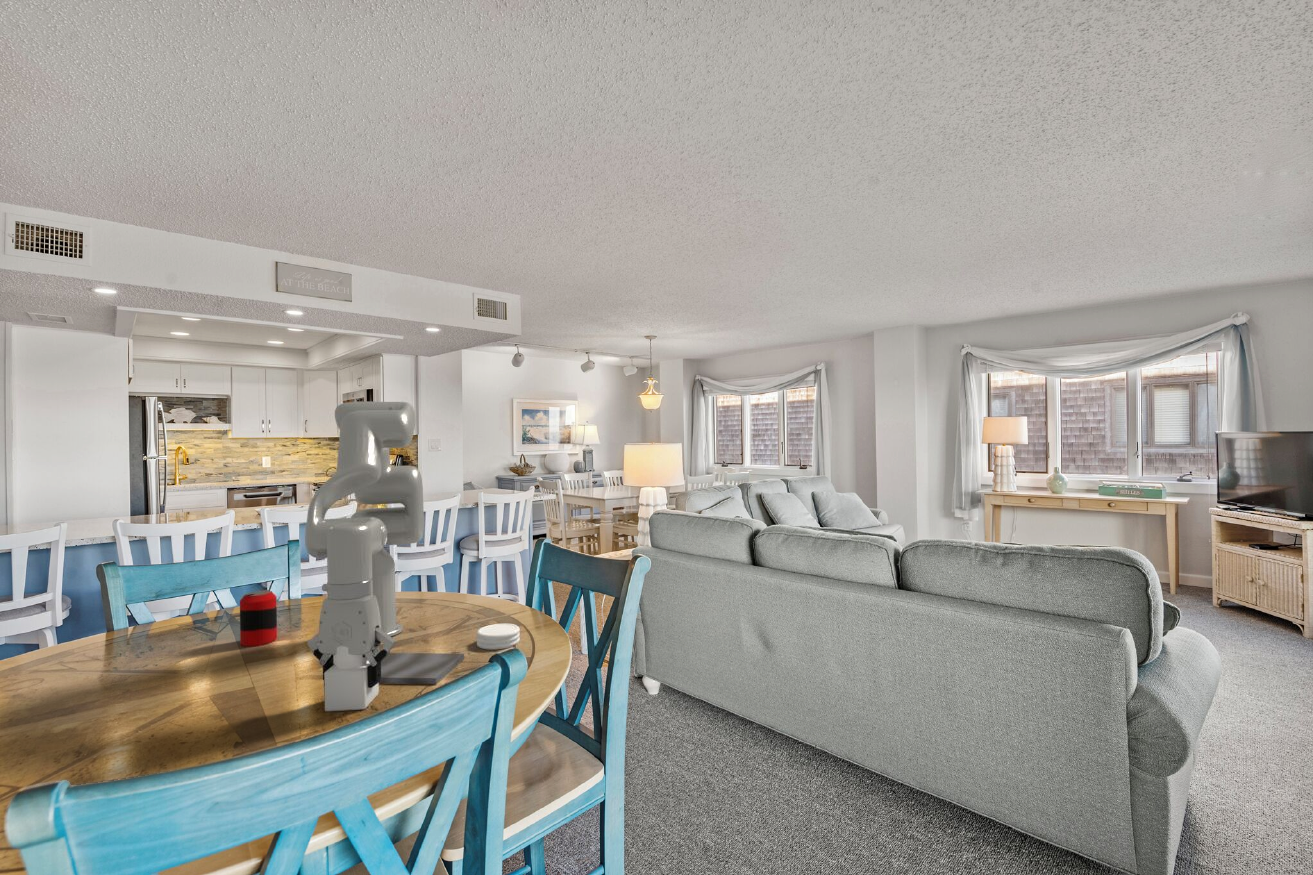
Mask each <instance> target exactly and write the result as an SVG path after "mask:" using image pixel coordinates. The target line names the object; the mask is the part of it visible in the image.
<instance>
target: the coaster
mask: <svg viewBox="0 0 1313 875" xmlns="http://www.w3.org/2000/svg"><path fill="white" fill-rule="evenodd" d="M520 631H521V630H520V626H518V625H517V624H514V623H495V624H490V625H489V624H488V625H485V626H483V627H480V628H479V629H478V630H477V631H476V646H477V647H478V648H480V649H483V650H490V651H495V650H497V651H499V650H504V649H509V648H512V647H514V646H516V645H518V644H517V643H520V640H521V637H520V635H521V633H520ZM513 645H514V646H513Z"/></svg>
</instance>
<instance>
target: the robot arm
mask: <svg viewBox="0 0 1313 875" xmlns="http://www.w3.org/2000/svg"><path fill="white" fill-rule="evenodd" d="M334 419H335V423H336V425H337V428H338V430H339V438H338V449H337V450H338V451H337V462H336V471H335V473H334V474H333V475H332V476H330V477H329V478H328V479H327V480H326V481H325V482H324V483H323V484H322V485H321V486H320V487H319V488H318V490H317V491H316V492H315V494H314V495H313V497H312V498H311V500H310V502H309V506H308V509H307V516H306V517H307V518H306V523H305V533H304V545H305V548H306V552H307V553H308V555H309V556H311V557H312V558H316V559H326V568H327V570H326V573H327V575H326V576H327V582H326V583H323V584H322V585H321V590H322V591H323V592H326V598H324V599H323V601H322V604H321V610H320V614H319V623H318V633H317V634H315V636H313V637H311V639H309V640H307V643H306V644H307V646H308V647H309V648H310V650H311V651H312V654H313V656H314V657H315V658H316V659H317V660H318V661H319V662H318V663H319V665H320V666H322V680H323V681H324V673H325V672H326V671H327V670H328V669H330V668H331V667H332V666H333V665H334V661H333V655H335V654H337V647H340V646H345V647H348V654H351V655H365V656H366V658H367V660H368V661H369V663H370V665H369V666H368V667H367V671H368V688H372V687H373V686H375V685H376V684H378V683H379V682H380V679H381V661H382V660H383V659H384V658H385V657H386V656H387V655H388V654H389V653H391V650H392V649H393V648H394V646H395V645H396V644H397V643H396V639H394V638H393V637H394V636H397V635H399V634H400V633H401V632H402V631H403V630H404V629H403V628H404V627H403V624H402V623H401V622H397V615H396V614H397V612H396V611H397V607H396V606H397V604H396V603H397V602H396V599H397V598H396V562H395V560H394V558H393V556H392V555H391V554H390V552H388V551H387V550H386V549H385V548H384V547H386V546H395V545H397V546H399V545H410V544H417V543H418V542H420V541H421V540H422V538H423V537H424V532H425V515H424V514H425V513H424V512H425V510H424V488H423V478H422V473H421V472H420V470H419V469H418V468H417V467H415V466H413V465H391V460H390V459H391V457H390V449H395V448H400V449H401V448H407V447H408V446H410V444H411V443H412V441H413V437H414V432H415V427H416V412H415V409H414V407H413V406H412V404H410V403H409V402H406V401H349V402H344V403H341V404H340V403H339V405H337V406H336V408H335V410H334ZM351 495H354V498H355V500H356V501H357V502H358V503H360V504H362V505H390V504H391V505H392V504H393V505H394V504H397V505H398V504H401V505H403V506H401V507H400V506H399V507H398V506H397V507H376V508H375V507H373V508H372V507H371V508H366V509H361V510H358V511H355V512H354V513H353V514H352V515H351V516H350V517H342V518H340V517H339V518H327V519H326V518H325V517H326V514H327V512H328V510H329V509H330V508H331V507H332V506H333V505H334V504H336V503H337V502H338V501H341V500H342V499H344V498H346V497H348V496H351ZM381 644H383V647H382V648H381V649H380V648H379V647H380V646H381ZM379 684H380V683H379Z"/></svg>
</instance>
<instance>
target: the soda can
mask: <svg viewBox="0 0 1313 875" xmlns="http://www.w3.org/2000/svg"><path fill="white" fill-rule="evenodd" d="M277 608H278V607H277V595H276V594H275V593H273V591H272V590H269V589H268V590H267V589H265V590H264V589H263V590H254V591H250V592H249V591H248V592H246V593H245V594H244V595H243V596H242V598H241V599H240V600H239V632H240V634H239V636H240V637H239V640H240V645H243V646H242V647H245V646H246V648H254V647H261V646H264V645H268V644H272V643H273V642H275V641H276V640H277V639H278V619H277V618H278V617H277V616H278V613H277V612H278V611H277V610H278V609H277ZM260 645H261V646H260Z"/></svg>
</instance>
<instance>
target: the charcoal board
mask: <svg viewBox="0 0 1313 875" xmlns="http://www.w3.org/2000/svg"><path fill="white" fill-rule="evenodd" d="M464 659H465V653H448V652H446V653H444V652H442V653H441V652H440V653H438V652H437V653H435V652H433V653H430V652H425V653H424V652H389V654H388V655H387V656H386V657H385V658H384V659H383V660H382V661H381V679H380V682H379V684H383V685H384V684H388V685H389V684H391V685H392V684H394V685H395V684H396V685H437V684H438V683H440V682H441V680H442V679H444V678H445V677H446V676H448V674H449V673H451V672H452V671H453V670H454V669H455V668H456V667H457V666H458V665H459V664H460V663H462V662H463V661H464Z"/></svg>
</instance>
